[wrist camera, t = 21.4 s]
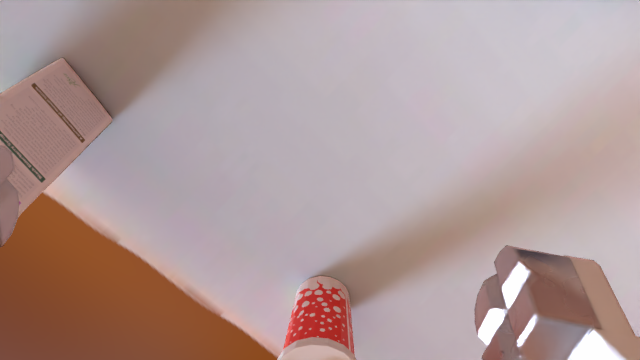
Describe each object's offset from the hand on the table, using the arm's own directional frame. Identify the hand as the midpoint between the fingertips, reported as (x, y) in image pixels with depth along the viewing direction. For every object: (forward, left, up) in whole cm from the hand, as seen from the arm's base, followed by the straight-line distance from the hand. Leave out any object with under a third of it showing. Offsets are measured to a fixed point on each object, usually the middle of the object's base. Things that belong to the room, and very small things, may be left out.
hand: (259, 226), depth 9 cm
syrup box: (-13, -17, -31) cm, 38 cm away
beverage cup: (+12, -23, -31) cm, 41 cm away
